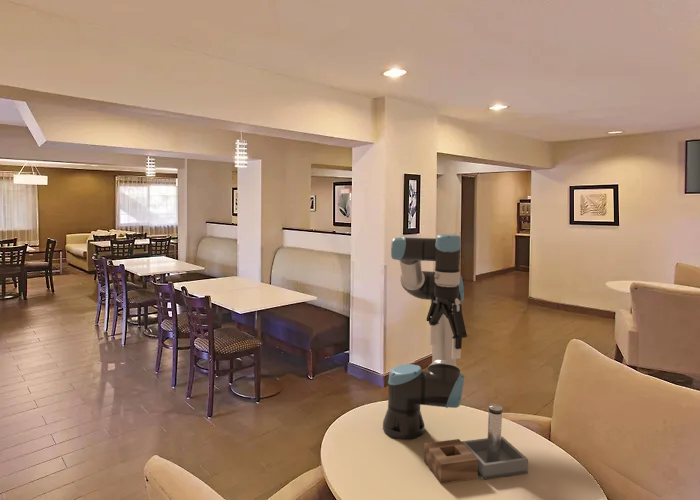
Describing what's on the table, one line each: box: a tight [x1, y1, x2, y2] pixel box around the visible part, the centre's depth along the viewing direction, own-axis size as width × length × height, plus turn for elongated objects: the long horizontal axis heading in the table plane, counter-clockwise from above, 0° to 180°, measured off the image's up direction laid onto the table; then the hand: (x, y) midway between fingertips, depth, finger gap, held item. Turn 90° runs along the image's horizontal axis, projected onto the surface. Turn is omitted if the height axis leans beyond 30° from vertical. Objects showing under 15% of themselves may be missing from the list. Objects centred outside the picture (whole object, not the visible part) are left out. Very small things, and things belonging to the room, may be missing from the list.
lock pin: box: [487, 402, 503, 463], centre depth 139 cm, size 4×4×18 cm
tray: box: [460, 435, 529, 480], centre depth 140 cm, size 14×15×4 cm
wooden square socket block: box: [423, 438, 479, 485], centre depth 136 cm, size 12×12×6 cm
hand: (444, 351), depth 139 cm, fingers open, 13 cm apart
